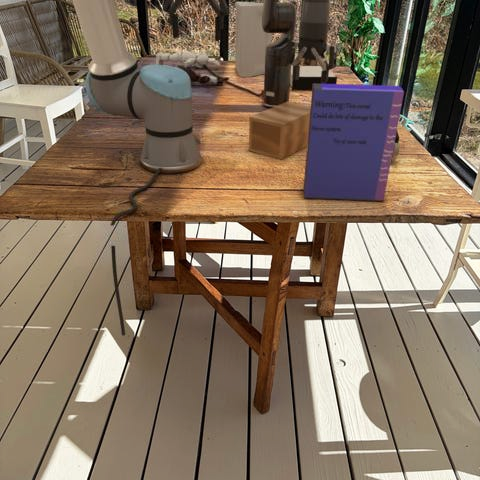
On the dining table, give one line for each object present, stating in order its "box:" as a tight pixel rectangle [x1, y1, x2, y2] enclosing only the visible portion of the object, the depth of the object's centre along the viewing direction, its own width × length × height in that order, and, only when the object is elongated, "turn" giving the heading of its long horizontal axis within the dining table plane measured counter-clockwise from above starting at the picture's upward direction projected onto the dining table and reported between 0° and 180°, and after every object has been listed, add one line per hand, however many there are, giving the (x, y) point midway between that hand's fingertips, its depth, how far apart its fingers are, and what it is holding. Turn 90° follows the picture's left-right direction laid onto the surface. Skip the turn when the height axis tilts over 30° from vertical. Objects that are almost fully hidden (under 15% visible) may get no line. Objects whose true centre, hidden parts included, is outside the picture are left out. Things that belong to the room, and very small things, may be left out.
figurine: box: [174, 64, 230, 86], centre depth 193 cm, size 24×8×30 cm
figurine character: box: [392, 131, 400, 157], centre depth 128 cm, size 7×8×15 cm
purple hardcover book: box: [302, 83, 405, 202], centre depth 102 cm, size 17×5×24 cm, turn 86°
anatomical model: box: [299, 59, 318, 66], centre depth 220 cm, size 13×9×15 cm
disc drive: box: [290, 65, 338, 91], centre depth 199 cm, size 18×22×5 cm
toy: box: [155, 50, 221, 69], centre depth 223 cm, size 24×25×7 cm
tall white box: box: [234, 1, 273, 78], centre depth 210 cm, size 19×15×28 cm
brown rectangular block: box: [248, 101, 311, 160], centre depth 133 cm, size 19×11×10 cm, turn 144°
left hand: (196, 39), depth 144 cm, fingers open, 13 cm apart
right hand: (309, 81), depth 136 cm, fingers open, 8 cm apart
